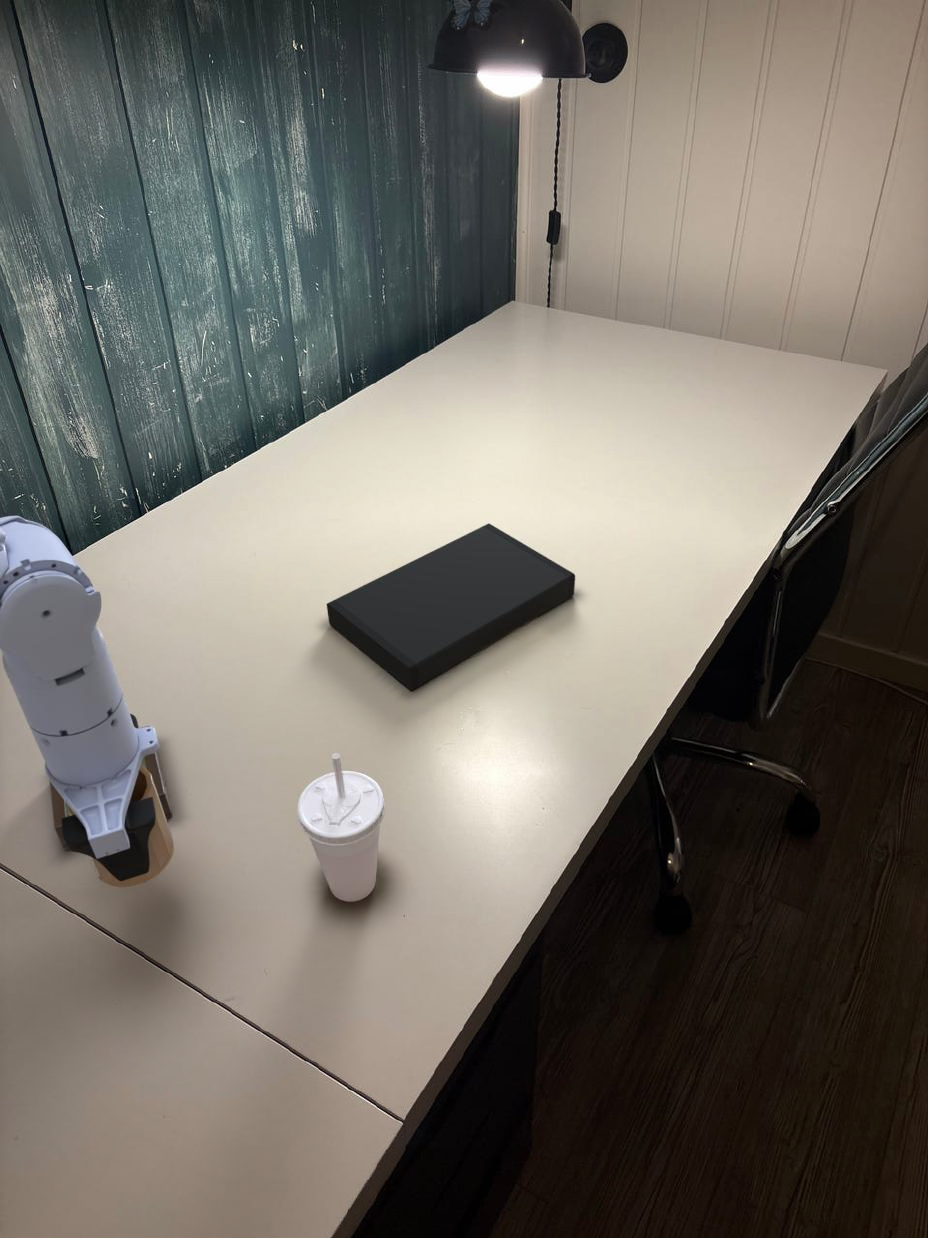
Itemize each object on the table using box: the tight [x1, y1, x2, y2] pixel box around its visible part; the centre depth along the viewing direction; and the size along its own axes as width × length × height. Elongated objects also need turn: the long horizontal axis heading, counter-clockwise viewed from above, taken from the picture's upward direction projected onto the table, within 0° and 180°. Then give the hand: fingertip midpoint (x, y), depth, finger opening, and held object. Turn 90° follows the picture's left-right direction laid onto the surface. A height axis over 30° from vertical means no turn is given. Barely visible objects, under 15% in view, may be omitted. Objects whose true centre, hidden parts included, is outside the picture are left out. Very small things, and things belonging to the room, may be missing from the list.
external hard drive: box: [326, 523, 576, 691], centre depth 99 cm, size 14×23×3 cm, turn 131°
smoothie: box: [297, 752, 386, 903], centre depth 69 cm, size 6×6×14 cm
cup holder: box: [49, 725, 173, 852], centre depth 79 cm, size 9×9×3 cm
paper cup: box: [67, 765, 175, 888], centre depth 65 cm, size 6×6×7 cm
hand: (128, 840), depth 66 cm, fingers closed on paper cup, 5 cm apart
